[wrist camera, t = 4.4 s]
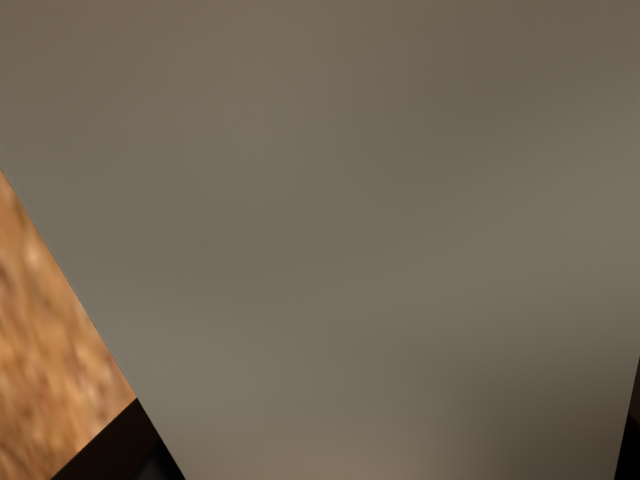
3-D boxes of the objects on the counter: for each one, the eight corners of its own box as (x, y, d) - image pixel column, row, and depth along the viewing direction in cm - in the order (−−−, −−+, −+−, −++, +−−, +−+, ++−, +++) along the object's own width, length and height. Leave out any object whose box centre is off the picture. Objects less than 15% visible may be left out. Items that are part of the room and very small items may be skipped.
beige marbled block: (512, 511, 13) (564, 714, 9) (330, 515, 14) (319, 703, 10) (530, -387, 5) (981, -1268, 1) (70, -233, 5) (-397, -500, 2)
